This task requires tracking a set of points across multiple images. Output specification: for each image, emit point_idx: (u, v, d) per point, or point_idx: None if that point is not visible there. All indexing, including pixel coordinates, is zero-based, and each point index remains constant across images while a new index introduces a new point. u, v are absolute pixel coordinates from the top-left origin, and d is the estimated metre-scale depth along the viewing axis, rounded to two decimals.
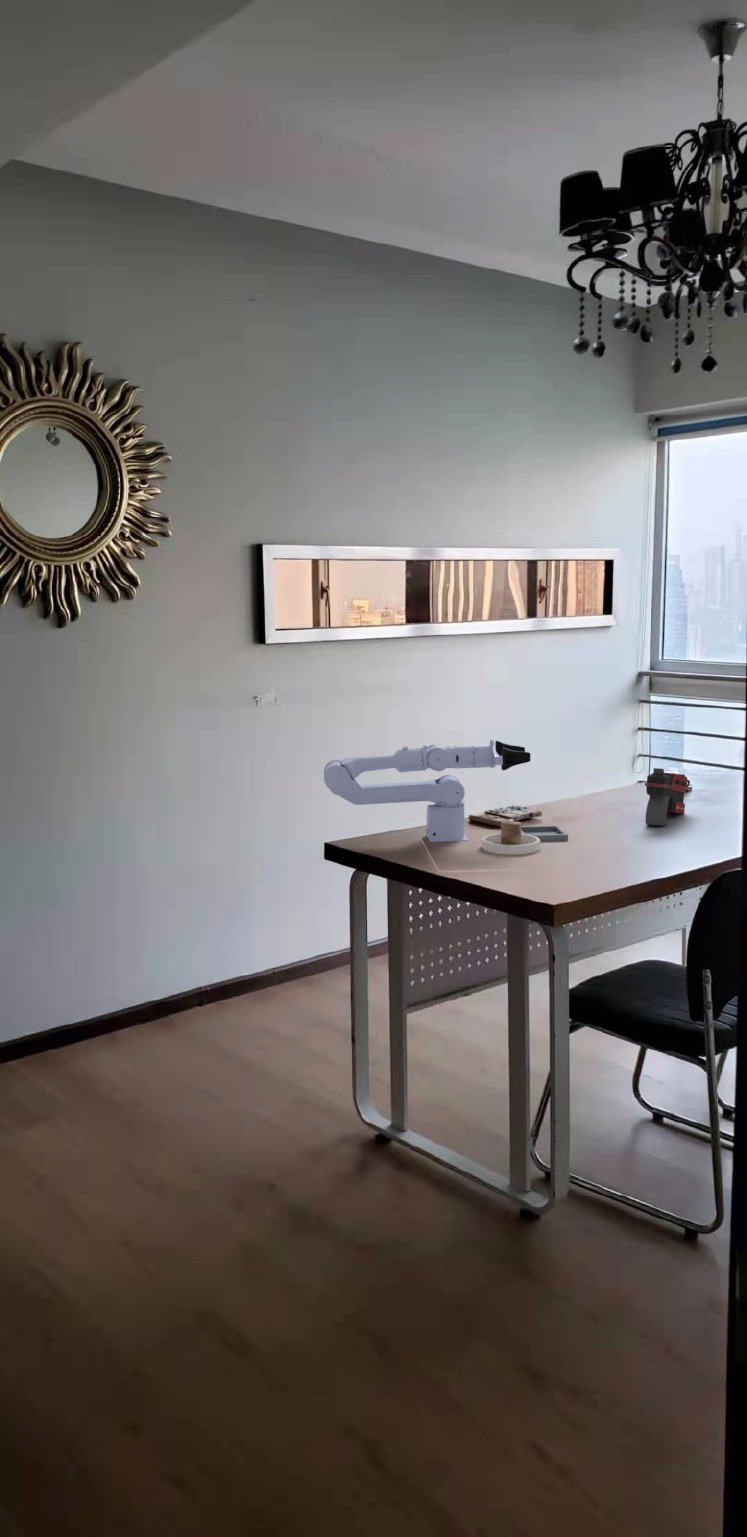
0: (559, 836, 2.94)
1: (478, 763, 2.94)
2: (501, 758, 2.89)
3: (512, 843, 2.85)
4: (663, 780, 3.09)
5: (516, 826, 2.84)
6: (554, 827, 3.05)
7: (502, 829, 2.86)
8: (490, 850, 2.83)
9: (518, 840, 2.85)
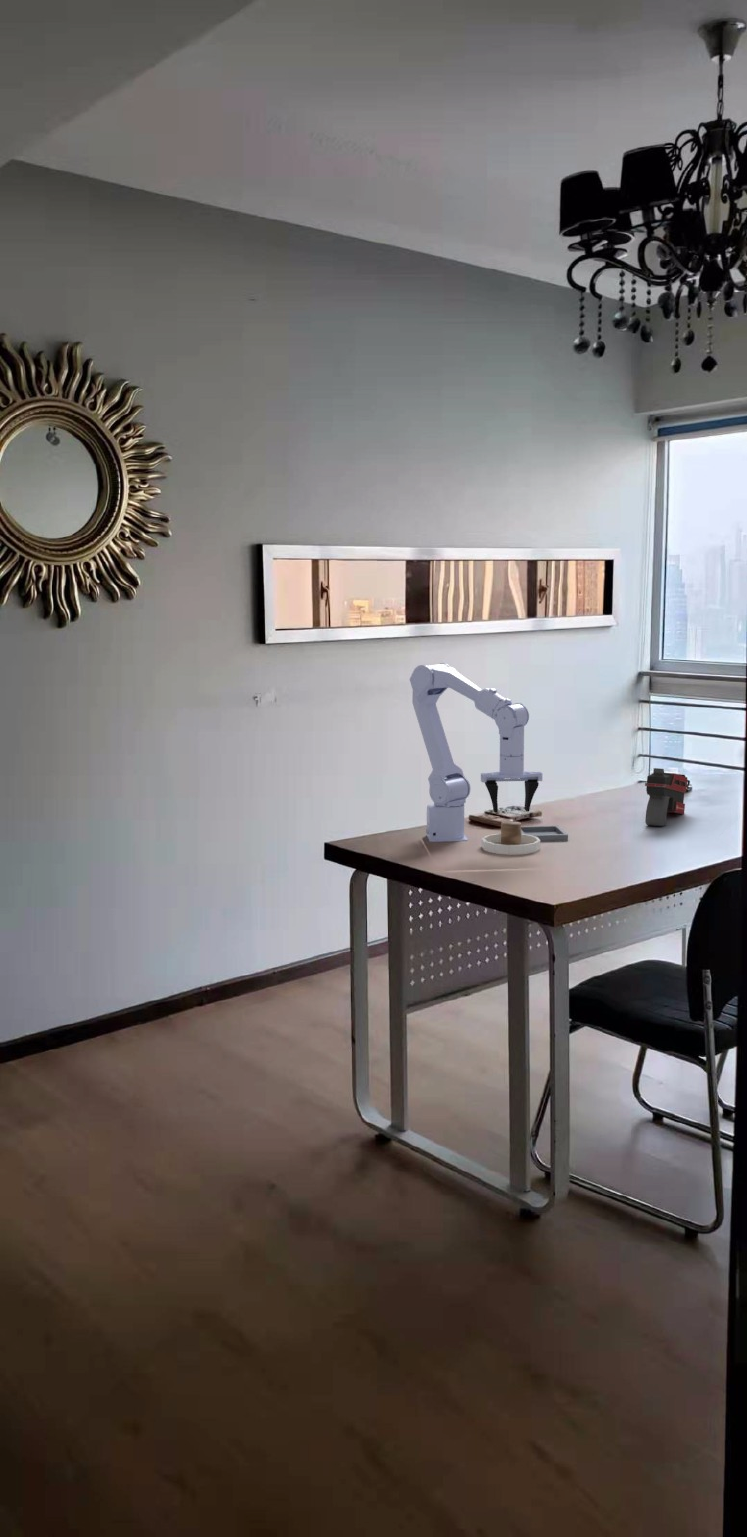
0: (559, 836, 2.94)
1: None
2: (481, 780, 2.84)
3: (512, 843, 2.85)
4: (663, 780, 3.09)
5: (516, 826, 2.84)
6: (554, 827, 3.05)
7: (502, 829, 2.86)
8: (490, 850, 2.83)
9: (518, 840, 2.85)
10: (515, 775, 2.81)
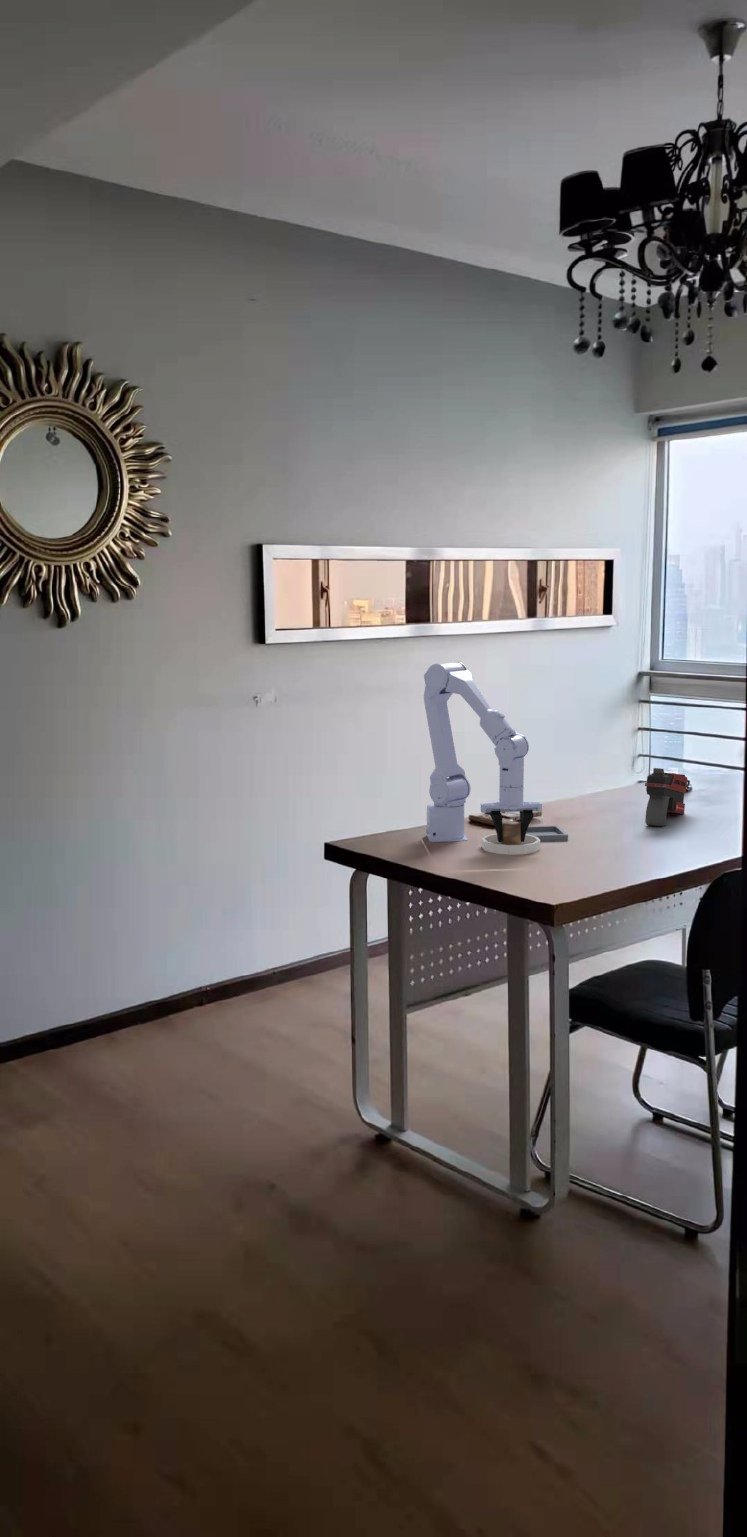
0: (559, 836, 2.94)
1: None
2: (481, 811, 2.85)
3: (512, 843, 2.85)
4: (663, 780, 3.09)
5: (516, 826, 2.84)
6: (554, 827, 3.05)
7: (502, 829, 2.86)
8: (490, 850, 2.83)
9: (518, 840, 2.85)
10: (515, 806, 2.82)
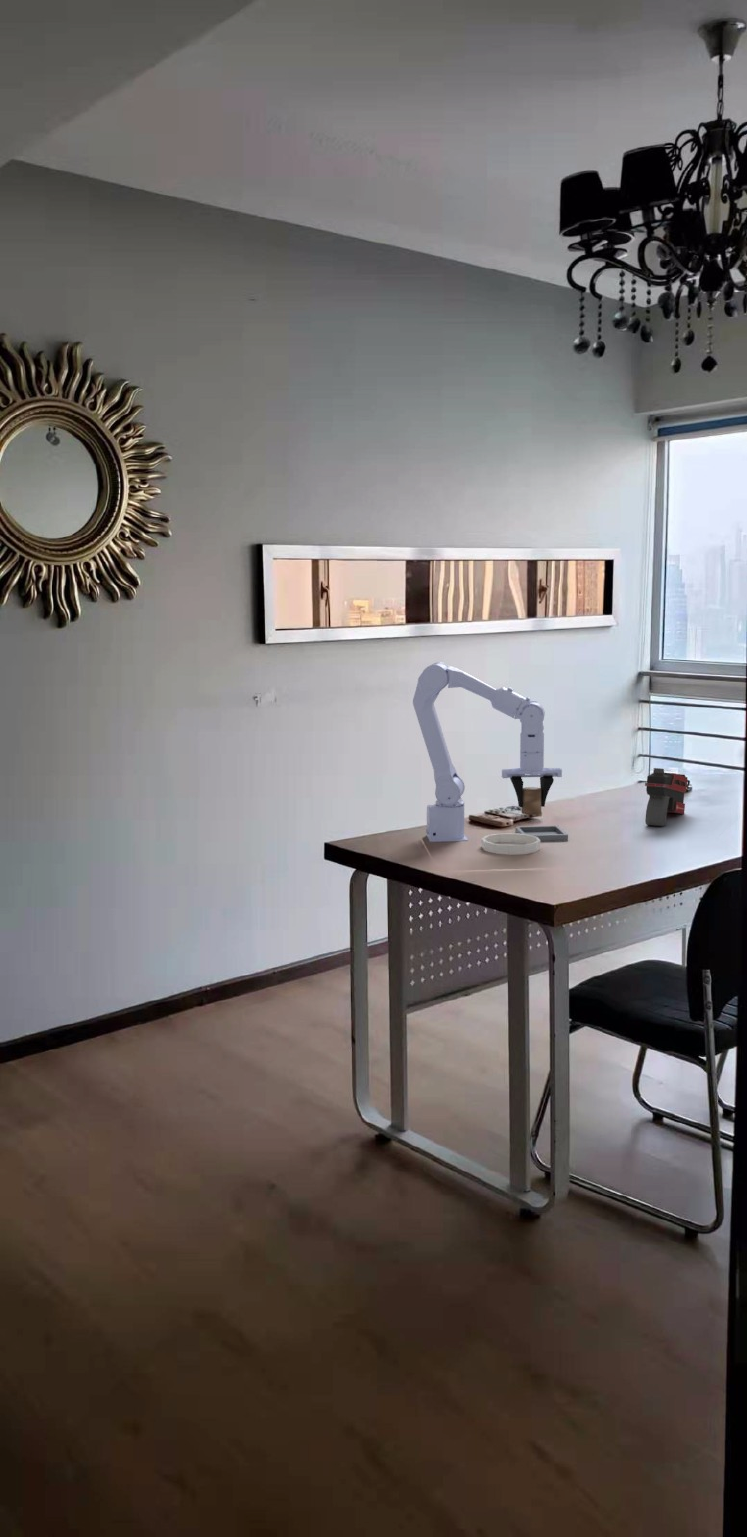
0: (559, 836, 2.94)
1: None
2: (502, 776, 2.92)
3: (532, 808, 2.91)
4: (663, 780, 3.09)
5: (537, 791, 2.91)
6: (554, 827, 3.05)
7: (523, 794, 2.92)
8: (490, 850, 2.83)
9: (539, 805, 2.92)
10: (535, 771, 2.89)
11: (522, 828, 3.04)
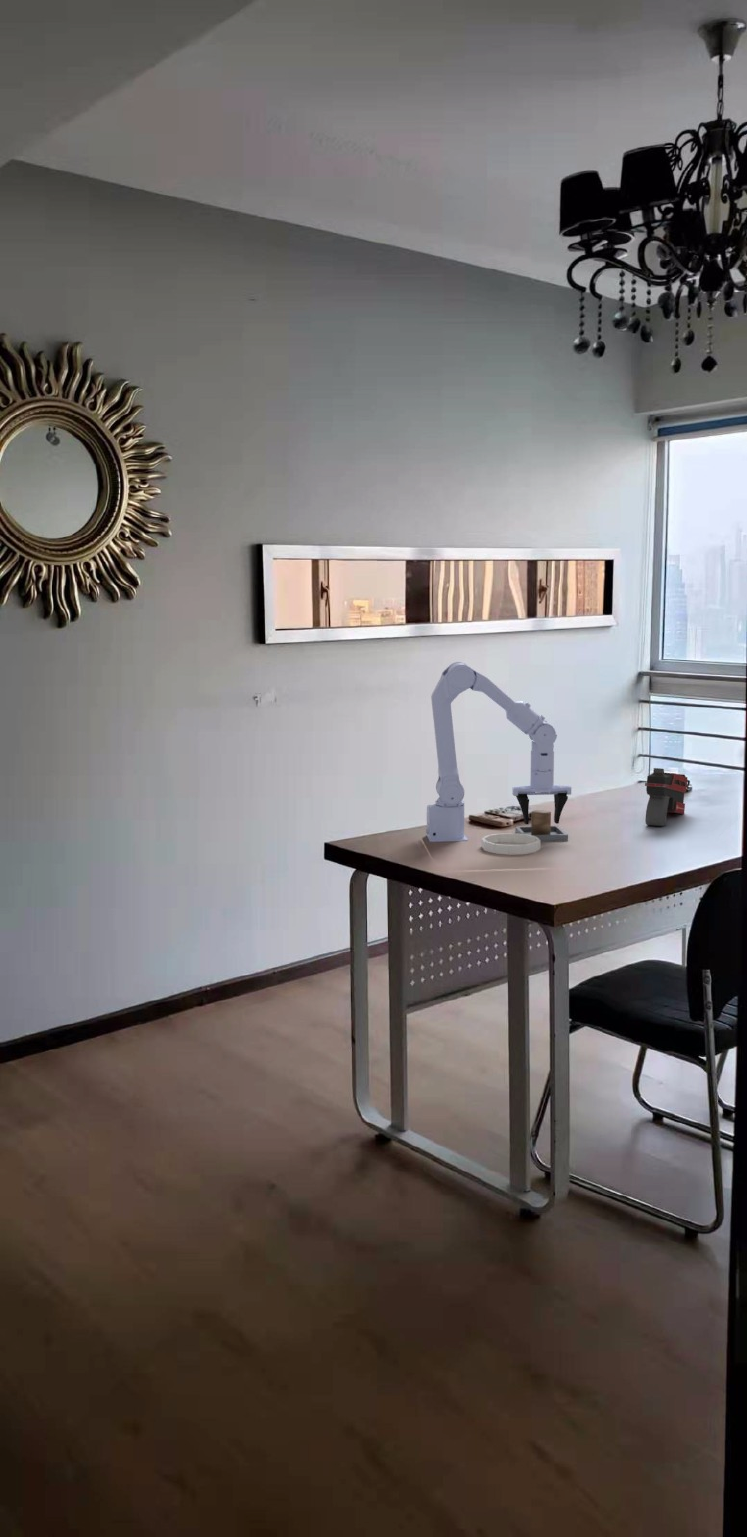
0: (559, 836, 2.94)
1: None
2: (513, 794, 2.97)
3: (542, 831, 2.97)
4: (663, 780, 3.09)
5: (546, 814, 2.96)
6: (554, 827, 3.05)
7: (532, 817, 2.98)
8: (490, 850, 2.83)
9: (548, 828, 2.97)
10: (545, 789, 2.94)
11: (522, 828, 3.04)
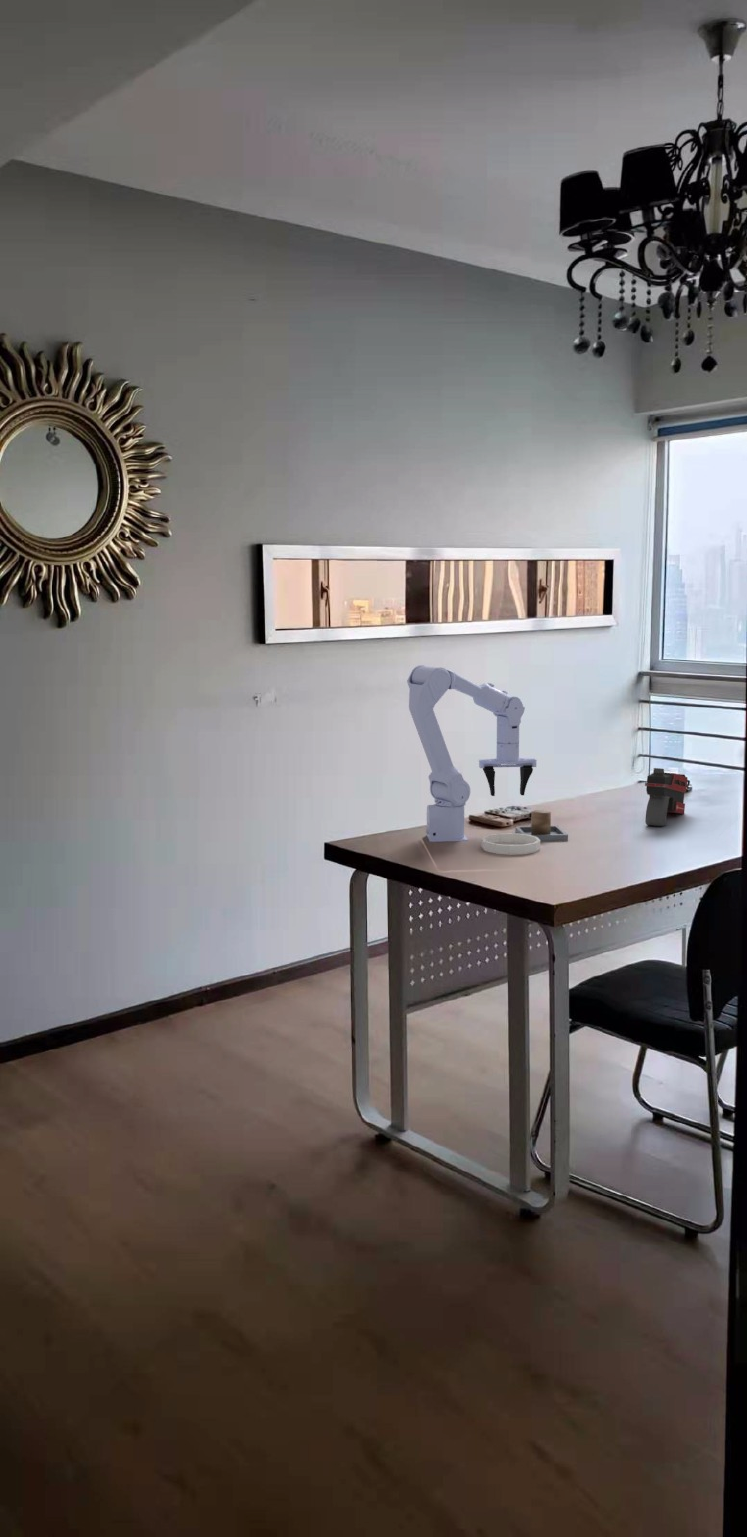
0: (559, 836, 2.94)
1: None
2: (480, 766, 3.04)
3: (542, 831, 2.97)
4: (663, 780, 3.09)
5: (546, 814, 2.97)
6: (554, 827, 3.05)
7: (532, 817, 2.98)
8: (490, 850, 2.83)
9: (548, 828, 2.98)
10: (511, 761, 3.02)
11: (522, 828, 3.04)
